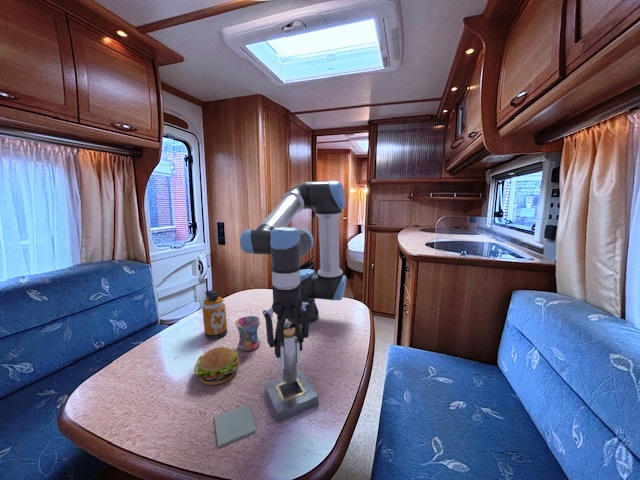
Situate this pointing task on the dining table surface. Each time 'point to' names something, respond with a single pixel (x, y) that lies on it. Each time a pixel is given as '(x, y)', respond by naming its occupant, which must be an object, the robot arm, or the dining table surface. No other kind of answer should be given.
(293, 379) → the key peg
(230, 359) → the food
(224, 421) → the rest pad
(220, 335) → the canister
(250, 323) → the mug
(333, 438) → the dining table surface
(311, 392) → the plate
